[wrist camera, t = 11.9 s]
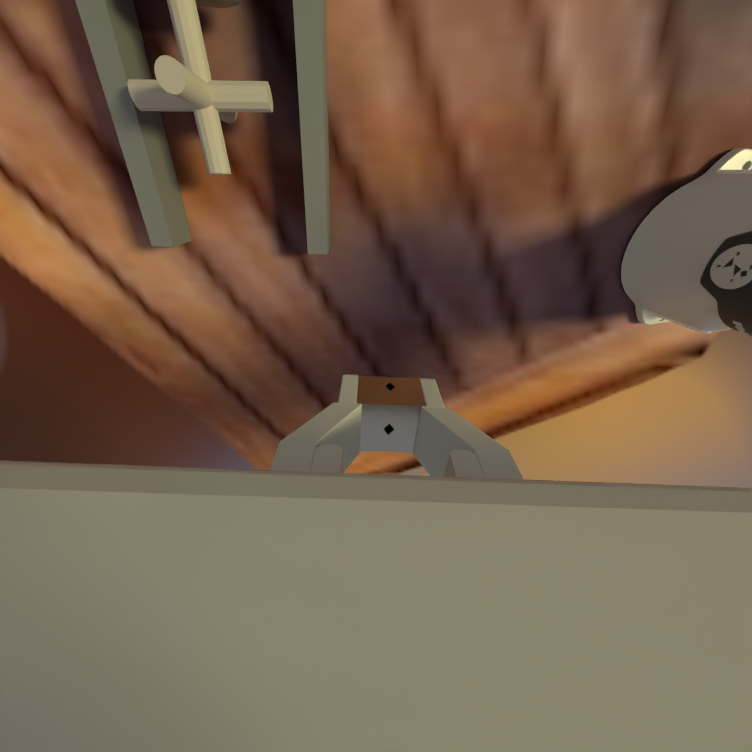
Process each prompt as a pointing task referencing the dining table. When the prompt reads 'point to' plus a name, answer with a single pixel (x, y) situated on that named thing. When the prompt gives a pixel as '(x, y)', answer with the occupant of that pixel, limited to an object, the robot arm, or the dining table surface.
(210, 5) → the rounded knob
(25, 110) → the dining table surface
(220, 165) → the pipe connector
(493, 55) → the dining table surface
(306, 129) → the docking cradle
